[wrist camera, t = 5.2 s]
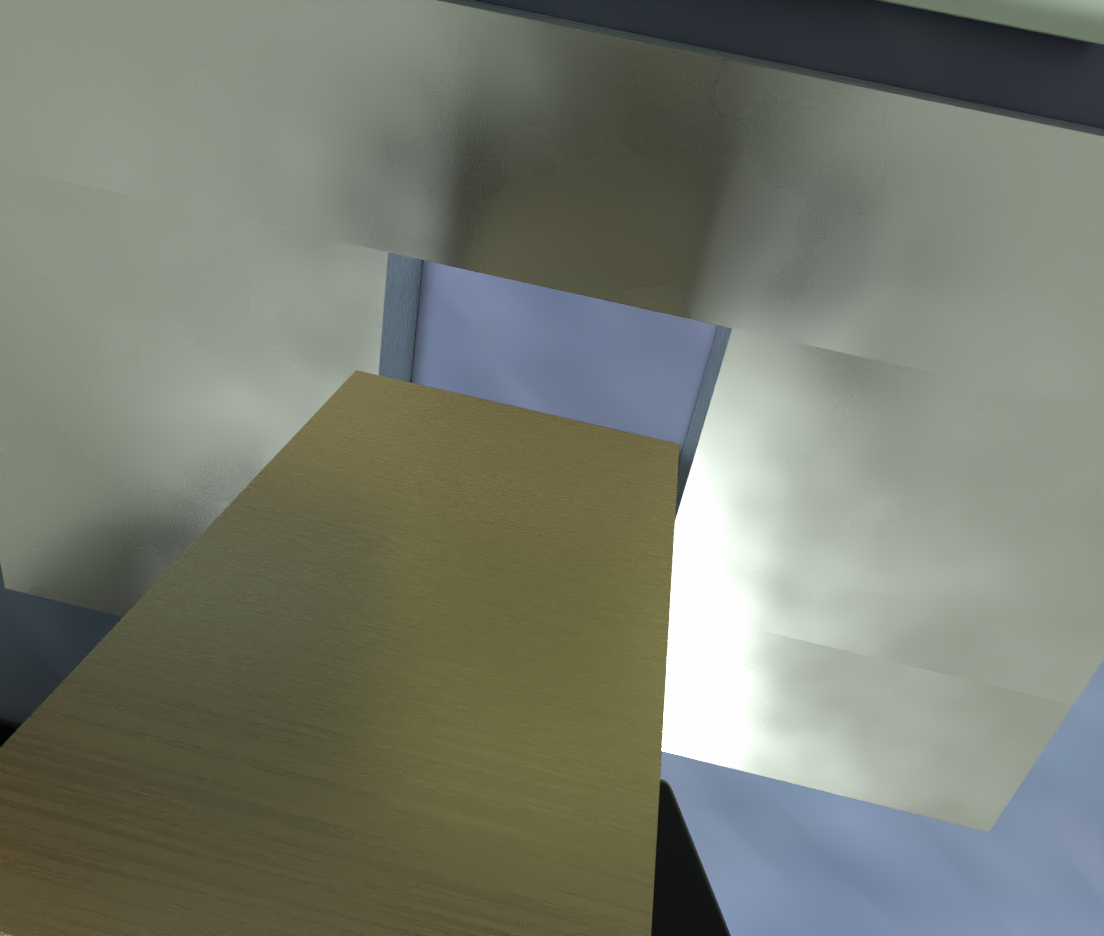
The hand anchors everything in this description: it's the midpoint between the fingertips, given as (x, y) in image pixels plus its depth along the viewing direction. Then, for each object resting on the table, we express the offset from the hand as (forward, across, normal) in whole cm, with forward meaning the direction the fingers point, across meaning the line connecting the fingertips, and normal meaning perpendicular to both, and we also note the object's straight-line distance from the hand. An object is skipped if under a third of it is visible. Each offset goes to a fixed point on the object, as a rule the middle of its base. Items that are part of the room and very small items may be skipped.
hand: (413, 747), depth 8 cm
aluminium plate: (+8, 0, 0) cm, 8 cm away
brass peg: (+4, 0, 0) cm, 4 cm away
